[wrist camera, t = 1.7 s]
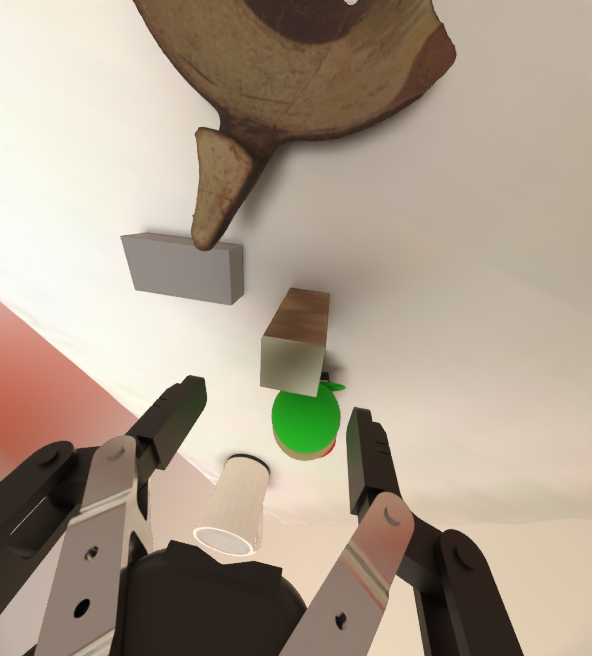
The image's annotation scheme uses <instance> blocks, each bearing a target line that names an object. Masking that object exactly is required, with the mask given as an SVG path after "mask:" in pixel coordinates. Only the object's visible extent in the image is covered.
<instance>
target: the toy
mask: <svg viewBox="0 0 592 656" xmlns="http://www.w3.org/2000/svg"><path fill="white" fill-rule="evenodd" d="M345 388H346V387H345V386H343V385H340V384H335V383H330V382H329V374H328V372H321V376H320V381H319V386H318V391H317V396H316V397H313V396H307V395H302V394H297V393H292V392H287V391H280V392H279V394H278V395H277V397H276V399H275V401H274V404H273V408H272V424H273V433H274V437H275V440H276V442H277V444H278V445H279V447H280V448H281V449H282V451H283V452H285V453H286V454H287V455H288V456H290V457H292V458H294V459H297V460H302V461H308V460H314V459H317V458H321V457H324V456H326V455H327V454H329V453H330V452H331V451H332V450H333V448H334V446H335V442H336V436H337V432H338V430H339V426H340V409H339V405H338V402H337V400H336V398H335V396H334V395H333V393H332V392H331V391H339V390H343V389H345Z"/></svg>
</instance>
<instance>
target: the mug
mask: <svg viewBox="0 0 592 656" xmlns="http://www.w3.org/2000/svg"><path fill="white" fill-rule="evenodd" d="M269 474H270V473H269V469H268V467H267V465H266V464H265V463H264V462H262V461H261V460H259V459H258V458H255V457H253V456H250V455H244V454H237V455H234V456H232V457H230V458H229V459H228V461H227V463H226V465H225V467H224V469H223V471H222V473H221V476H220V478H219V480H218V482H217V484H216V487H215V489H214V491H213V493H212V495H211V497H210V500H209V502H208V504H207V506H206V508H205V510H204V512H203V514H202V516H201V518H200V520H199V522H198V524H197V525H196V528H195V529H194V532H193V534H194V536H195V538H196V539H197V540H198V541H199V542H200V543H202V544H204V545H205V546H207V547H209V548H211V549H213V550H216V551H218V552H221V553H224V554H228V555H233V556H247V555H251V554H254V553H256V552H258V550H259V549H260V547H261V543H262V527H263V526H262V525H263V500H264V496H265V492H266V487H267V483H268V479H269ZM255 538H256V542H255ZM254 544H255V546H254Z"/></svg>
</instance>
